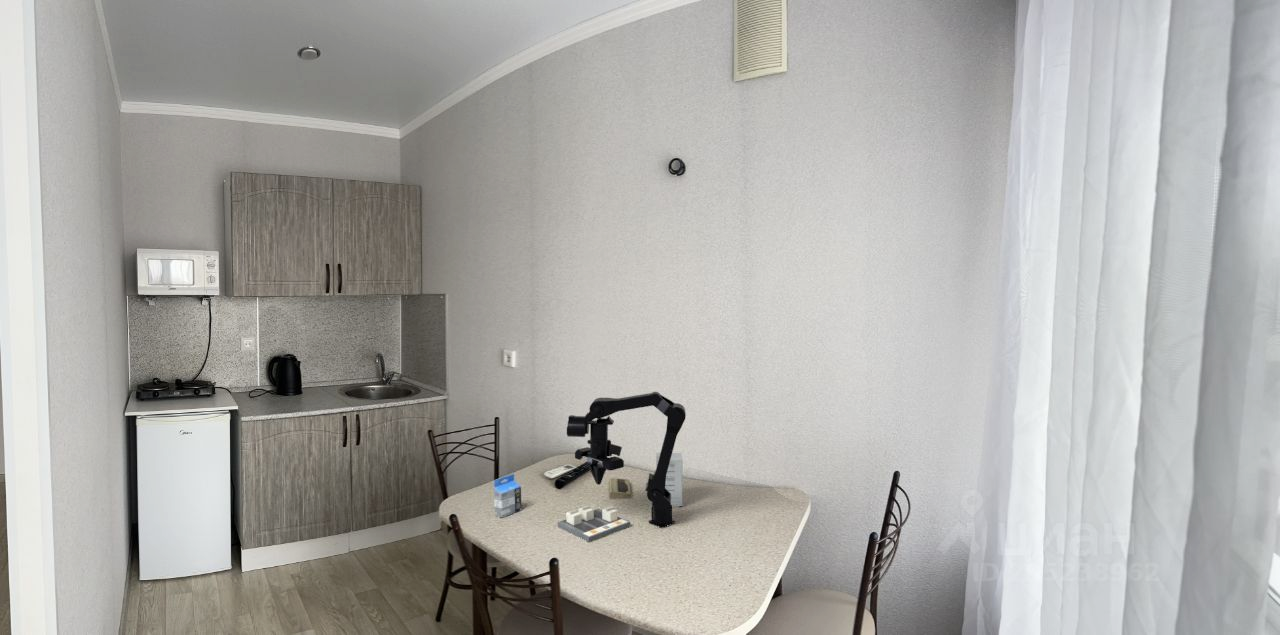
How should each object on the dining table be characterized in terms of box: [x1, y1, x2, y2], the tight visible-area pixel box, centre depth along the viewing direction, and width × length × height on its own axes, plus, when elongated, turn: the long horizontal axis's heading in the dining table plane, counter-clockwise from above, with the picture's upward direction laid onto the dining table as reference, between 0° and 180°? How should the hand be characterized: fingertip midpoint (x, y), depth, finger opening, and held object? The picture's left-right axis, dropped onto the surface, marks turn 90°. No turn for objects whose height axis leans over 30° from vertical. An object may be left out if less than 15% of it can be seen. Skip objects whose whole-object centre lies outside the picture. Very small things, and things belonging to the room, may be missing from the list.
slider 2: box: [601, 506, 618, 522], centre depth 191 cm, size 4×3×4 cm
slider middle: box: [578, 504, 595, 521], centre depth 192 cm, size 4×3×4 cm
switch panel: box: [557, 508, 631, 543], centre depth 189 cm, size 16×17×2 cm
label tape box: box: [493, 473, 523, 519], centre depth 200 cm, size 9×4×12 cm, turn 143°
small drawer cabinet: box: [656, 452, 683, 507], centre depth 210 cm, size 10×9×17 cm
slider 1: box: [565, 508, 582, 525], centre depth 188 cm, size 4×3×4 cm
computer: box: [608, 477, 632, 500], centre depth 222 cm, size 16×8×3 cm, turn 4°
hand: (598, 484), depth 193 cm, fingers closed
